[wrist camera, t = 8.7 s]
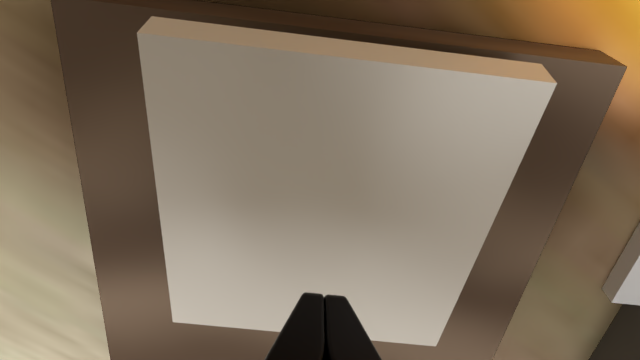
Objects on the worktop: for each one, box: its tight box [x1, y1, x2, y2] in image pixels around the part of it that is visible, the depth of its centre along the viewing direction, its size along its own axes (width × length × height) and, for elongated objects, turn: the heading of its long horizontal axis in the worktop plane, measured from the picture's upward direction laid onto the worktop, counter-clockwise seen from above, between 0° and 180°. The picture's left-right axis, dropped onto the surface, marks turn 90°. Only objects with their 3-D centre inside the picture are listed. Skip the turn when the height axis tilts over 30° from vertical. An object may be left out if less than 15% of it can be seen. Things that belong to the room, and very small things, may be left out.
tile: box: [137, 16, 557, 346], centre depth 14 cm, size 10×9×1 cm
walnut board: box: [51, 0, 627, 360], centre depth 17 cm, size 16×15×2 cm
